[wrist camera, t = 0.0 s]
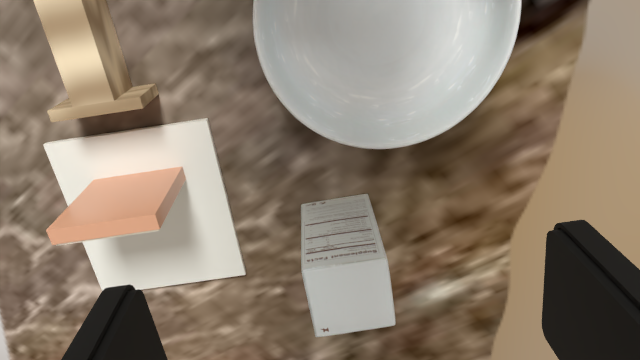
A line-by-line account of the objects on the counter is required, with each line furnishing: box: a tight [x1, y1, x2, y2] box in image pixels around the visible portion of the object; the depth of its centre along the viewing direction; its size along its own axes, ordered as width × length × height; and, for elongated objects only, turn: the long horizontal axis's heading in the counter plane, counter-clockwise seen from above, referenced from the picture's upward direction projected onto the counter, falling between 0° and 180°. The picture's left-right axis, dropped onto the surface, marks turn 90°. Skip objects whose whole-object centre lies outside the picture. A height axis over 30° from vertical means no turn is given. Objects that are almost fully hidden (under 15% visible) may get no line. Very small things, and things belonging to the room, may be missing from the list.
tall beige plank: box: [34, 0, 159, 122], centre depth 41 cm, size 15×8×5 cm, turn 8°
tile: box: [46, 167, 186, 246], centre depth 44 cm, size 2×9×10 cm, turn 98°
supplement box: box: [301, 194, 396, 337], centre depth 47 cm, size 7×7×13 cm
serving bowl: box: [253, 0, 521, 149], centre depth 41 cm, size 21×21×7 cm
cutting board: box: [43, 118, 246, 291], centre depth 51 cm, size 18×16×1 cm
